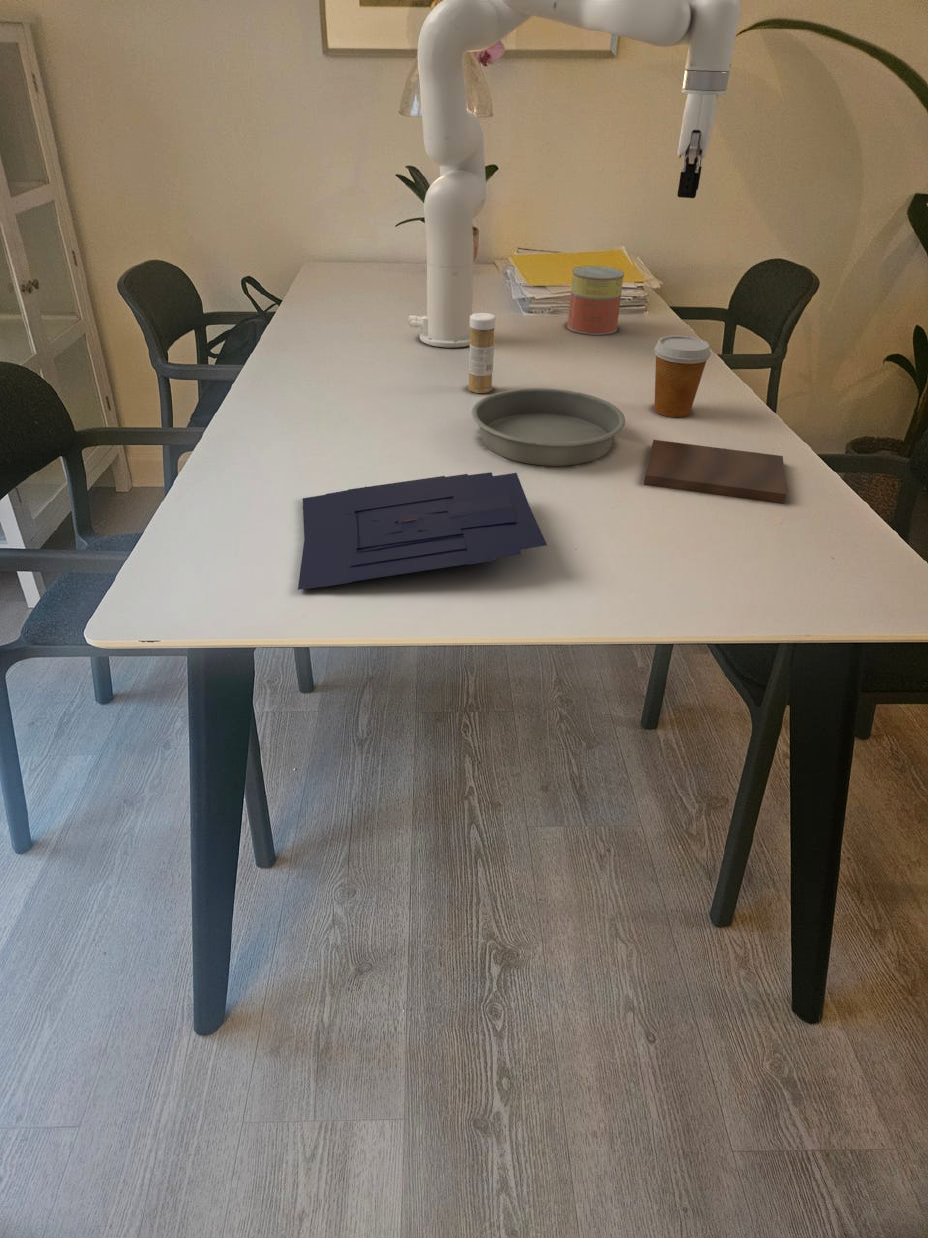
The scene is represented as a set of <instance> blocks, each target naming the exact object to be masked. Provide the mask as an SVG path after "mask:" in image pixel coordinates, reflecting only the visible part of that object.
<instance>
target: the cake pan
mask: <svg viewBox="0 0 928 1238" xmlns="http://www.w3.org/2000/svg"><path fill="white" fill-rule="evenodd" d="M471 418H472V419H473V421H474V422H475V423H476V425H477V426H478V428H479V433H480V438H481V441H482V443H483V444H484V446H485V447H486V448H488V449H489V450H490V451H492V453H495V454H497V455H498V456H501V457H503V458H506V459H508V460H511V461H515V462H519V463H523V464H529V465H535V466H547V467H548V466H549V467H563V466H565V467H566V466H574V465H580V464H585V463H589V462H593V461H596V460H598V459H600V458H601V457H603V456H605V455H606V454H607V453H608V452H609V451H610V449H611V448H612V445H613V443H614V440H615V437H616V435H618V434H619V433H620V432H621V431H622V430H623V429H624V427H625V425H626V418H625V415H624V413H623V412H622V411H621V409H619V408H618V407H617V406H615V405H614V404H613V403H611V402H609V401H608V400H605V399H602V398H600V397H597V396H594V395H591V394H588V393H583V392H579V391H574V390H567V389H559V388H545V387H544V388H543V387H531V388H529V387H528V388H517V389H516V388H515V389H509V390H503V391H500V392H496V393H493V394H490V395H487V396H485V397H483V398H481V399H480V400H478V401H477V402H476V403H475V404H473V406H472V409H471Z"/></svg>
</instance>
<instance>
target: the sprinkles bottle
mask: <svg viewBox="0 0 928 1238" xmlns="http://www.w3.org/2000/svg"><path fill="white" fill-rule="evenodd" d="M495 329H496V316H495V315H494V314H492V313H488V312H475V313H472V315H471V316H470V345H469V352H468V353H469V355H468V386H467V389H468V390H469V391H470V392H472V393H475V394H486V393H490V392H491V391H492V390H493V373H494V353H495V348H494V347H495V344H494V342H495Z"/></svg>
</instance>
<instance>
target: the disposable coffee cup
mask: <svg viewBox="0 0 928 1238" xmlns="http://www.w3.org/2000/svg"><path fill="white" fill-rule="evenodd" d="M710 349H711V348H710V344H709V342H708V341H706V340H704V339H701V338H698V337H695V336H687V335H667V336H663V337H660V338H659V339H658V340H657V343H656V345H654V348H653V351H654V354H655V373H654V375H655V376H654V377H655V379H654V385H655V386H654V405H653V406H654V407H653V409H654V411H655V412H656V413H657V414H659V415H662V416H665V417H669V418H683V417H688V416H689V415H690V414H691V411H692V408H693V405H694V401H695V398H696V396H697V392H698V390H699V389H698V388H699V386H700V383H701V380H702V377H703V373H704V370H705V366H706V364H707V361H708V360H709V358H710V357H711V355H712V352H711V351H710Z"/></svg>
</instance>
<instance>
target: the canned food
mask: <svg viewBox="0 0 928 1238" xmlns="http://www.w3.org/2000/svg"><path fill="white" fill-rule="evenodd" d="M571 272H572V273H571V274H572V277H571V287H570V295H569V296H570V297H569V307H568V318H567V325H566V327H567V329H569V330H570V331H572V332H574V333H578V334H582V335H589V336H592V335H593V336H605V335H611V334H613V333H616V332H617V331H618V323H619V315H620V308H621V299H622V290H623V284H624V276H625V272H624V271H622V270H621V269H618V268H615V267H609V266H603V265H601V266H600V265H584V266H583V265H582V266H578V267H575V268H573V269H572V270H571Z"/></svg>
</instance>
